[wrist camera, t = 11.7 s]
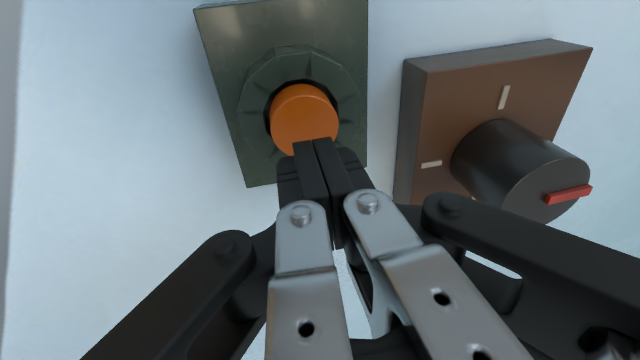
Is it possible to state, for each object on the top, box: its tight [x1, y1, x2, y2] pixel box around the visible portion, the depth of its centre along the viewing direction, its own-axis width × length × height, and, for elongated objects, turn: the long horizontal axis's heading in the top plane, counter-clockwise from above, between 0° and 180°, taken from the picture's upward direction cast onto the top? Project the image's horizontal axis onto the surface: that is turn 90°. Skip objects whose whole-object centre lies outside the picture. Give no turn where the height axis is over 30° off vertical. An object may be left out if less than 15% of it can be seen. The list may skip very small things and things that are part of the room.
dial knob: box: [451, 119, 593, 225], centre depth 17 cm, size 5×5×5 cm
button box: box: [193, 0, 368, 188], centre depth 16 cm, size 10×8×4 cm
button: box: [269, 84, 339, 156], centre depth 14 cm, size 3×3×2 cm
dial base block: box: [393, 39, 593, 206], centre depth 20 cm, size 12×10×3 cm
